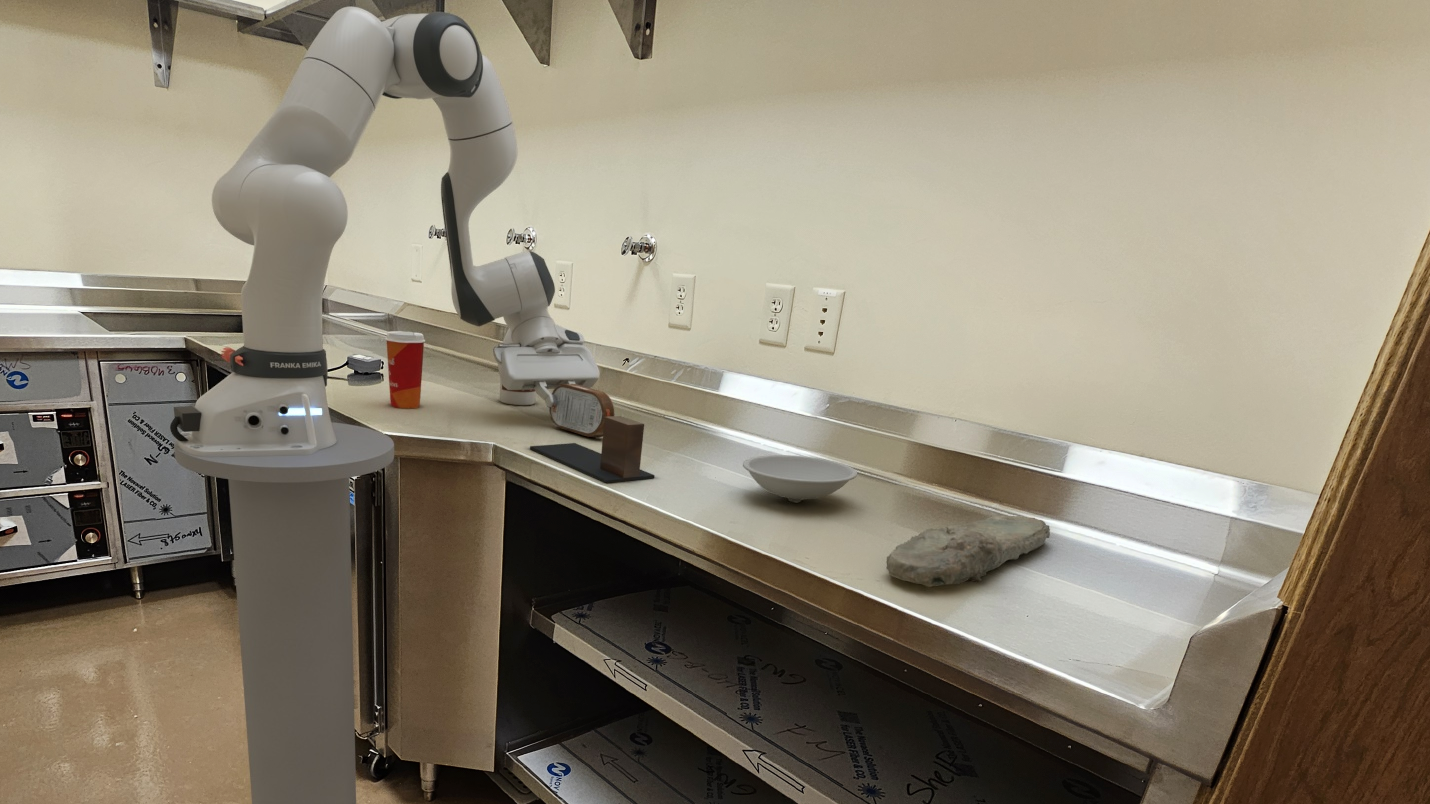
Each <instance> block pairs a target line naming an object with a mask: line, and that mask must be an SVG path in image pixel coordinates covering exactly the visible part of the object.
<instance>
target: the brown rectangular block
mask: <svg viewBox="0 0 1430 804" xmlns="http://www.w3.org/2000/svg"><path fill="white" fill-rule="evenodd" d="M644 429H645V423H643V422H639V421H636V420H634V419H630V418H628V417H625V416H622V415H614V416H609V417H604V428H603V436H602V441H601V451H600V453H601V464H600V469H603V470H605V471H607V472H610V473H612V474H615V475H617V476H619V477H622V478H631V477H639V472H640V469H641V461H642V453H643V452H642V450H643V441H644V432H645V430H644Z"/></svg>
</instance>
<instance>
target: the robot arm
mask: <svg viewBox="0 0 1430 804" xmlns="http://www.w3.org/2000/svg"><path fill="white" fill-rule="evenodd" d="M382 96H383V97H387V98H389V99H395V100H400V99H415V100H431V99H432V100H433V102H434V103H435V104H436V105H437V107H438V109H439V111H440V112H441V117H442V122H443V125H444V130H445V133H446V138H447V140H448V145H449V152H450V155H449V156H450V158H449V164H448V168H447V172H446V173H444V175H443V176H441V181H440V198H441V208H442V217H443V226H444V233H445V240H446V246H447V254H448V260H449V270H450V280H451V283H450V284H451V285H450V287H451V288H450V292H451V300H452V304H453V307H454V310H455V312H456V314H457V315H458V316H459V319H460V320H461V321H463V322H465V323H467V324H469V325H473V326H475V327H482V326H484V325H487V324H489V323H491V322H494V321H496V320H498V319H500V318H503V320H504V322H505V324H506V326H507V327H508V329H509V328H510V330H511V338H512V341H513V343H511V344H504V343H503V342H501V343H497V345H495V346H494V347H493V348H492V354H493V357H494V360H495V361H496V363H497V368H498V369H497V370H498V375H499V380H500V379H501V382H502V385H503V386H504V387H505V388H506V389H508V390H528V389H535V391H536V395H537V396H539V397H540V398H541V399H542V400H543V401H544V402H545V404H546V407H547V408H550V407H556V405H557V404H558V400H557V399H556V395H552V392H551V391H549V390H554V389H555V388H556V387H558V386H559V385H562V384H577V385H581V386H584V387H588V388H592V387H594V386H595V385H596V383H597V382H598V380H599V379H600V374H601V373H600V369H599V367H598V366H599V365H598V364H597V362H596V360H595V357H594V355H593V354H592V352H591V350H590V349H589V348H588V347H587V346H585V345H584V343H585V337H584V336H583V334H581V333H580V332H578V331H574V330H572V329H568V328H566V327H563V326H562V325H559V324H556V322H555V320H554V319H553V318H552V317H551V315H550V313H549V307H550V306H551V304H552V303H553V299H554V296H555V294H556V286H555V282H554V280H553V277H552V275H551V273H550V270H549V268H548V266H547V262H546V259H545V258H543V257H542V256H541V255H540V254H538V253H537V252H534V251H532V250H527V251H526V250H525V251H522V252H518V253H515V254H512V255H511V254H510V255H509V256H505V257H504V258H500V259H497V260H494V261H491V262H488V263H484V264H481V265H477V266H476V265H474V261H473V260H474V259H473V253H472V243H471V236H470V228H469V225H470V219H471V215H472V214H473V211H474V210H475V209H476V208H477V206H479V204H480V203H481V202H482V201H484V199H486V198H487V197H488V196H490V194H492V193H493V192H494V191H496V190H497V189H499V187H500V186H502V185H503V184H504V183H505V182H506V181H507V179H508V178H509V177H510V175H511V174H512V172H513V170H514V168H515V166H516V164H517V161H518V155H519V151H518V150H519V149H518V141H517V136H516V130H515V126H514V125H515V124H514V122H513V118H512V114H511V110H510V107H509V104H508V100H507V97H506V94H505V92H504V89H503V86H502V84H501V81H500V79H499V76H498V74H497V71H496V69H495V67H494V64H493V63H492V62H491V60H490V59H489V58H488V57H487V56H486V55H484V54H483V53H482V51H481V48H480V45H479V41H478V39H477V37H476V34H475V33H474V31H473V30H472V28H471V26H469V24H468V23H467V22H466V21H465V20H464V19H463V18H461V17H459V16H458V15H455V14H453V13H449V12H445V11H431V12H430V13H406V14H401V15H400V14H399V15H397V16H394V17H390V18H388V19H380V18H378V17H377V16H375V14H373V13H371V12H370V11H368V10H366V9H364V8H361V7H358V6H345V7H342V8H340V9H338V10H336V12H335V13H333V15H332V16H331V17H329V19H328V21H326V23H325V24H324V25H323V27H322V28H321V29H320V31H319V32H318V34H317V35H316V36H315V38H314V39H313V41H312V42H311V44H310V46H309V48H308V49H307V50H306V52H305V54H304V55H303V58H302V60H301V62H300V64H299V66H298V68H297V70H296V71H295V73H294V75H293V78H292V79H291V81H290V83H289V85H288V87H287V89H286V91H285V93H284V94H283V96H282V98H281V101H280V102H279V104H278V106H277V107H276V109H275V110H274V112H273V113H272V115H271V117H270V118H269V119H268V120H267V122H266V123H265V124H264V126H263V127H262V128H261V130H259V132H258V133H257V134H256V136H255V137H254V138H253V139H252V141H250V143H249V144H248V146H247V147H246V149H245V150H244V151H243V152H242V154H241V155H240V157H239V158H238V159H237V161H236V162H235V163H234V165H232V167H231V168H230V169H229V170H228V171H226V172H225V173H224V174H223V175H222V176H220V177H219V179H217V181H216V183H215V185H214V186H213V189H212V193H211V206H212V207H211V208H212V211H213V213H214V216H215V218H216V220H217V222H218V223H219V225H220V226H221V227H222V228H223V229H224V230H225V231H226V232H227V233H229V234H230V235H232V236H233V237H234V238H236V239H237V240H240V241H241V242H243V243H245V244H248V245H250V246H253V253H252V259H251V263H250V269H249V272H248V273H249V274H248V276H247V279H246V281H245V283H244V284H243V286H242V288H241V292H240V304H241V320H242V321H241V322H242V336H243V345H242V346H240V347H239V348H237V349H233V348H232V347H229V346H226V347H224V348H222V350H220V351H221V353H220V356H221V358H222V359H223V360H224V361H226V362H227V363H229V364H230V371H231V373H230V374H228V376H226V377H224V379H222V380H221V381H220V382H218V383H217V384H216V385H215V386H213V387H211V389H209V390H207V391H206V392H205V393H203V394H202V395H201V396H200V397H199V398H198V399H197V400H196V402H195V404H194V406H192V405H186V406H185V405H183V406H173V416H174V417H173V419H172V420H171V422H170V425H169V428H170V433H171V434H172V436H173V437H174V438H175V440H176V439H177V445H178V446H179V448H180V449H181V450H183V451H184V452H186V453H189V454H191V455H195V456H199V457H250V456H297V455H312V454H314V453H316V452H317V451H318V450H321V449H324V448H327V447H330V446H332V445H334V444H335V443H336V442H337V439H336V437H335V434H334V430H333V427H332V423H331V422H332V419H331V415H330V409H329V404H328V397H327V389H326V387H327V386H328V377H329V375H328V374H329V372H328V370H329V369H328V367H329V366H328V359H327V351H326V349H325V348H324V343H323V342H324V339H323V298H324V297H323V294H324V288H325V287H324V286H325V281H326V277H327V271H328V268H329V263H330V259H331V256H332V252H333V250H334V247H335V245H336V244H337V242H338V241H339V240H340V238H341V237H342V235H343V234H344V233H345V230H346V227H347V224H348V219H349V212H348V211H349V210H348V204H347V200H346V197H345V195H344V193H343V191H342V189H341V188H340V186H339V185H338V184H337V182H336V181H334V180H333V179H332V176H333V175H334V174H335V173H336V172H337V171H338V170H339V169H340V168H343V166H345V165H346V164H347V163H348V162H349V161H350V160H351V158H353V155H354V153H355V151H356V149H357V147H358V146H359V143H360V140H361V139H362V137H363V135H364V133H365V131H366V129H367V127H368V125H369V123H370V121H371V120H372V117H373V115H374V113H375V111H376V109H377V108H378V107H377V106H378V105H379V103H380V101H381V98H382ZM179 429H180V430H181V432H180V431H179Z"/></svg>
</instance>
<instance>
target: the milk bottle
mask: <svg viewBox="0 0 1430 804" xmlns="http://www.w3.org/2000/svg"><path fill="white" fill-rule="evenodd" d="M502 343H504V344H511V343H513V341H512V338H511V330H510V328H509V327H508V329H507V331H506V333H505V335H504V337H503V341H502ZM499 401H500V402H501V403H503V404H506V405H507V404H508V405H514V406H531V405H534V404H535V403H536V401H537V393H536V391H535V389H528V390H508V389H506V388H505V387H504V386H503V385H502V382H501V379H500V378H499Z"/></svg>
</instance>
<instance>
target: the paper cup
mask: <svg viewBox="0 0 1430 804" xmlns="http://www.w3.org/2000/svg"><path fill="white" fill-rule="evenodd" d="M384 340H385V341H386V355H387V373H388V389H389V399H390V400H389V401H390V406H391V407H392V408H397V409H409V410H410V409H417V408H419V407H420V405H421V395H422V394H421V392H422V379H423V366H424V365H423V364H424V363H423V362H424V350H425V349H424V348H425V347H424V346H425V343H426V339H425V337H424V334H423V333H421V332H413V331H404V330H393V331H387V332H386V337H384Z"/></svg>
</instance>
